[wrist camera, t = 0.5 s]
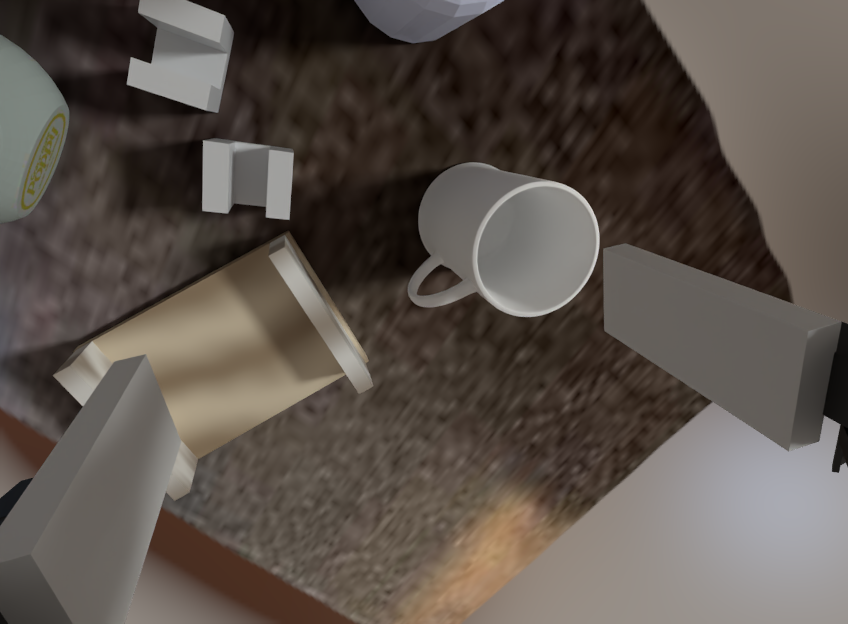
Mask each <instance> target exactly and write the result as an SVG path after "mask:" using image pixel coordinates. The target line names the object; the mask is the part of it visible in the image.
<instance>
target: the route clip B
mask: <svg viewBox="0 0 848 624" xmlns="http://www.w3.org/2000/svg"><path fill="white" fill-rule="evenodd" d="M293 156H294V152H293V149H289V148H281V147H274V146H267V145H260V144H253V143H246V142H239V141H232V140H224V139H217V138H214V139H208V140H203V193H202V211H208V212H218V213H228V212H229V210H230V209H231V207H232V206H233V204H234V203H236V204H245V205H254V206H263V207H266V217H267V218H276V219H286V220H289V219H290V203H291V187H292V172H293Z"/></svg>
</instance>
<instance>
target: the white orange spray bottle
mask: <svg viewBox="0 0 848 624" xmlns="http://www.w3.org/2000/svg"><path fill="white" fill-rule="evenodd" d="M354 1H355V2H356V4H357V5H358V6H359V8H360V9H361V11H362V12H363V13H364V15H365V16H366V18H367V19H368V20H369V22H370V23H371V24H373V25H374V26H376V27H377V28H378V29H380V30H381V31H382V32H384V33H385V34H387V35H388V36H389V37H391V38H395V39H399V40H402V41H406V42H410V43H419V42H426V41H433V40H436V39H438V38H440V37H442V36H444V35H445V34H447V33H449V32H451V31H452V30H454V29H456V28H458V27H459V26H461V25H463V24H465V23H466V22H468V21H470V20H472V19H473V18H475V17H477V16H479V15H480V14H482V13H484V12H485V11H487V10H489V9H491V8H492V7H494V6H496V5H497V4H499V3H501V2H502V1H504V0H354Z"/></svg>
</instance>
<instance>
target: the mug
mask: <svg viewBox="0 0 848 624" xmlns="http://www.w3.org/2000/svg"><path fill="white" fill-rule="evenodd" d="M418 227H419V233H420V237H421V240H422V242H423V244H424V246H425V248H426V250H427V251H428V253H429V254H430V255H431V256H430V257H429V258H428V259H427V260H426V261H425V262H424V263H423V264H422V265H421V266H420V267H419V268H418V269H417V271H416V272H415V273H414V275H413V276H412V278H411V280H410V282H409V284H408V295H409V297H410V299H411V300H412V301H413V302H414V303H415V304H416V305H418V306H421V307H436V306H441V305H445V304H448V303H451V302H454V301H456V300H459V299H461V298H463V297H465V296H467V295H469V294H471V293H474V292H478V293H479V294H480V295H481V296H483V297H484V298H485V299H486V300H487V301H488V302H489V303H491V304H492V305H493V306H495V307H496V308H498V309H499V310H501V311H503V312H505V313H508V314H511V315H514V316H520V317H534V316H540V315H544V314H547V313H550V312H552V311H554V310H556V309H558V308H560V307H562V306H563V305H565V304H566V303H568V302H569V301H570V300H571V299H572V298H574V297H575V296H576V295H577V294H578V292H579V291H580V290H581V289H582V288H583V286H584V285H585V284H586V282H587V280H588V279H589V277H590V275H591V273H592V271H593V269H594V266H595V263H596V260H597V256H598V251H599V229H598V224H597V220H596V217H595V215H594V212H593V210H592V208H591V207H590V205H589V204H588V202H587V201H586V200H585V199H584V198H583V197H582V196H581V195H580V194H579V193H578V192H577V191H575V190H574V189H572V188H570V187H568V186H566V185H564V184H561V183H557V182H553V181H549V180H544V179H539V178H534V177H529V176H524V175H520V174H515V173H510V172H505V171H500V170H498V169H497V168H495V167H493V166H490V165H487V164H483V163H476V162H471V163H463V164H459V165H456V166H454V167H451V168H449V169H448V170H446V171H444V172H443V173H442V174H440V175H439V176H438V177H437V178H436V179H435V180H434V181H433V182H432V183H431V185H430V186H429V187H428V189H427V190H426V192H425V194H424V196H423V199H422V201H421V204H420V208H419V214H418ZM440 264H442V265H443V266H445V267H447V268H450V269H451V270H452V271H454V272H455V273H456V274H457V275H458V276H459V277H461V278H462V279H463V281H462V282H460V283H459V284H457V285H456V286H454V287H452V288H450V289H447V290H445V291H443V292H440V293H437V294H433V295H428V296H419V295H417V290H418V287H419V286H420V284H421V282H422V281H423V280H424V278H425V277H426V276H427V275H428V274H429V273H430V272H431V271H432V270H433V269H434V268H436V267H437V266H439V265H440Z"/></svg>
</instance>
